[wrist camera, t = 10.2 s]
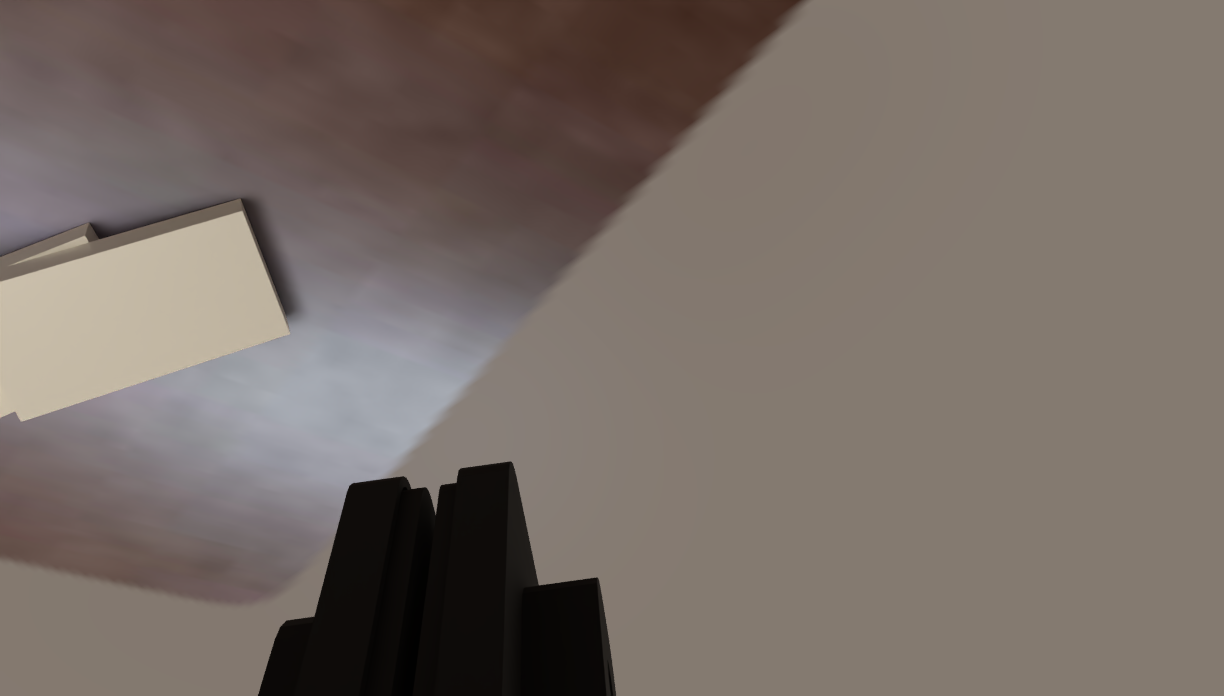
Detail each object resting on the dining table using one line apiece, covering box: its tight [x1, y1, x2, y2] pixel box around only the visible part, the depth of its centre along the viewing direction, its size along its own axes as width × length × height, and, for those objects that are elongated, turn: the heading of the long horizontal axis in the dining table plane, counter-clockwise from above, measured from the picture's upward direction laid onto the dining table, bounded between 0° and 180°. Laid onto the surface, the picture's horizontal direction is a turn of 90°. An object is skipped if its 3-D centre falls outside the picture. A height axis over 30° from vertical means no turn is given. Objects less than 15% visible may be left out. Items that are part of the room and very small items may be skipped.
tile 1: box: [0, 198, 290, 422], centre depth 37 cm, size 2×5×10 cm
